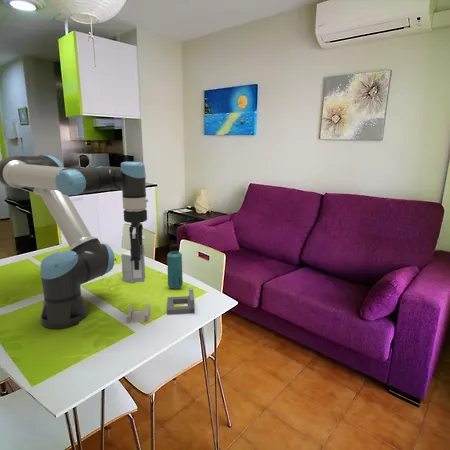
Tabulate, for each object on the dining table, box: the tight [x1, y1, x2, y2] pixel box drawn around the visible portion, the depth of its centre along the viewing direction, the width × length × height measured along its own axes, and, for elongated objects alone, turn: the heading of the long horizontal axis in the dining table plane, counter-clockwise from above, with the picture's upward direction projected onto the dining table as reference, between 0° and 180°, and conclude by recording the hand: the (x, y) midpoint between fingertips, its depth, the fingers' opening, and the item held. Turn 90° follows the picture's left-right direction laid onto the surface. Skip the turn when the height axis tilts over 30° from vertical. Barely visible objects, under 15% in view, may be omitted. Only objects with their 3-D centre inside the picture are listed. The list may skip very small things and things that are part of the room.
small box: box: [120, 250, 135, 284], centre depth 147 cm, size 8×6×13 cm
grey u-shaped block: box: [125, 303, 152, 324], centre depth 116 cm, size 8×8×3 cm
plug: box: [129, 244, 146, 283], centre depth 111 cm, size 4×4×12 cm
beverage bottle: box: [166, 243, 184, 289], centre depth 138 cm, size 6×7×20 cm
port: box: [166, 287, 195, 316], centre depth 122 cm, size 10×10×7 cm
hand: (138, 274), depth 112 cm, fingers closed on plug, 4 cm apart
